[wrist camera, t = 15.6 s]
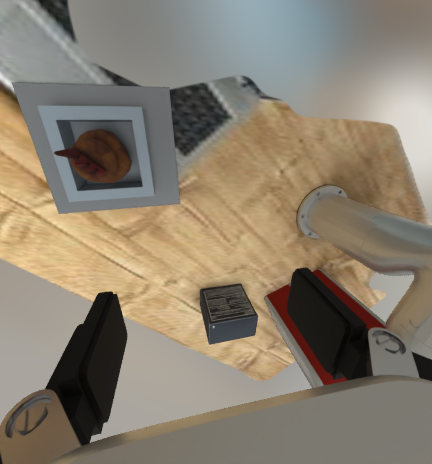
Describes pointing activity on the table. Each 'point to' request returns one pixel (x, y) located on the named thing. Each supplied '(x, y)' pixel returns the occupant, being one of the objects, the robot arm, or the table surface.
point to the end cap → (110, 119)
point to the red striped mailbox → (296, 340)
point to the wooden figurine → (98, 156)
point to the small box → (227, 313)
